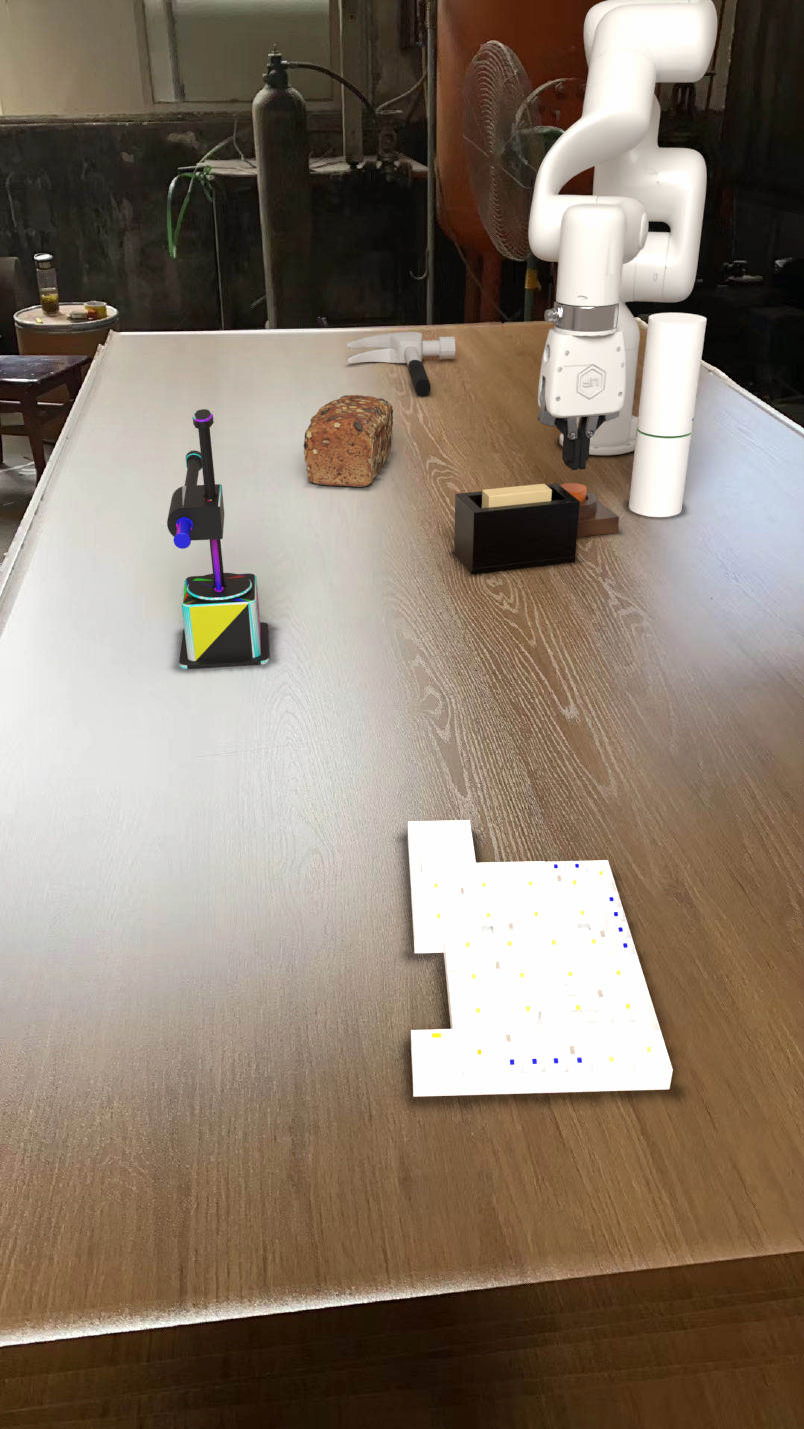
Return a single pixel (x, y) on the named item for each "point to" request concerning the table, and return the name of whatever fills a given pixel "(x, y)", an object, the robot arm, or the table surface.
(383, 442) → the bread
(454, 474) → the table surface
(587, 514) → the control block
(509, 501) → the toast
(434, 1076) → the floor plan model
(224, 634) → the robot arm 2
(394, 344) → the claw hammer
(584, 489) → the button
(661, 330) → the cylindrical container
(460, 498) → the toaster
